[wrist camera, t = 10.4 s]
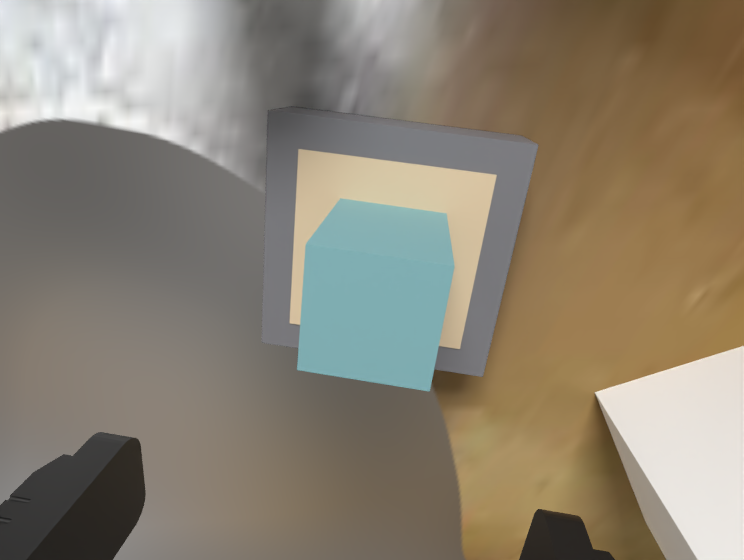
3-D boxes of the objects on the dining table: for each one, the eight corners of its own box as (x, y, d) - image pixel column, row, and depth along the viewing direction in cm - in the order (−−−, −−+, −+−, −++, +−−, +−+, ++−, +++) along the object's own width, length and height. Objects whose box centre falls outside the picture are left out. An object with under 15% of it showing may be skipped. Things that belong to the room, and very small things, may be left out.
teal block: (446, 213, 22) (454, 266, 16) (429, 309, 24) (429, 391, 18) (340, 198, 22) (305, 244, 16) (331, 294, 24) (296, 369, 18)
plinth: (521, 135, 24) (538, 145, 21) (475, 339, 29) (483, 377, 25) (291, 106, 25) (267, 110, 21) (282, 310, 30) (261, 343, 26)
